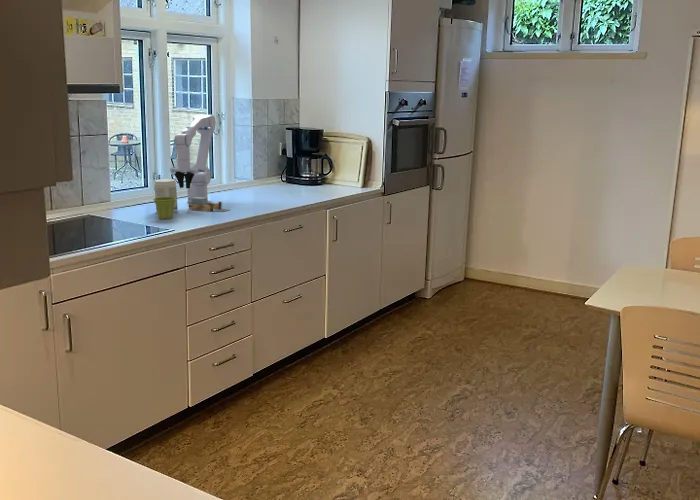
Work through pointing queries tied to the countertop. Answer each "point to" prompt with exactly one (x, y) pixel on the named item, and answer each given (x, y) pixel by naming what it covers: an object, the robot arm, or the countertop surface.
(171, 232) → the countertop surface
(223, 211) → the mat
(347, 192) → the countertop surface
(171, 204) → the plant pot
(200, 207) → the chute
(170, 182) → the supplement tub
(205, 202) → the block
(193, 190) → the robot arm
